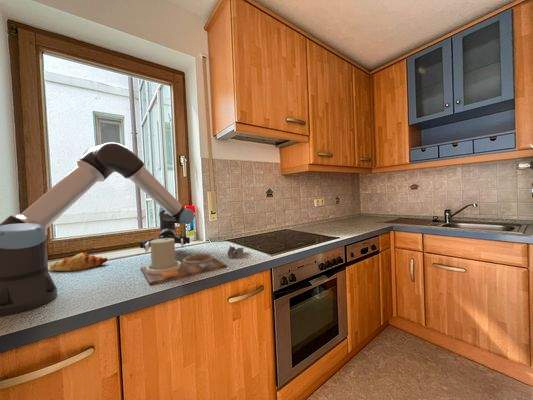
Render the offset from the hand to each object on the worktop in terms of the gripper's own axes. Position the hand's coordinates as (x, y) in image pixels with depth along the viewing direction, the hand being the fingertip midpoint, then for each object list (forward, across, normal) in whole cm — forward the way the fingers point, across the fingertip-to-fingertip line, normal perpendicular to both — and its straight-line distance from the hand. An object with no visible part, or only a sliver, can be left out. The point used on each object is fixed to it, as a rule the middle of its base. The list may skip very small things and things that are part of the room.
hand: (164, 246), depth 96 cm
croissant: (-21, +36, -10) cm, 43 cm away
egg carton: (-8, -32, -10) cm, 34 cm away
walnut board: (+1, -7, -10) cm, 12 cm away
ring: (+4, 0, -9) cm, 10 cm away
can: (+1, +1, -9) cm, 9 cm away
